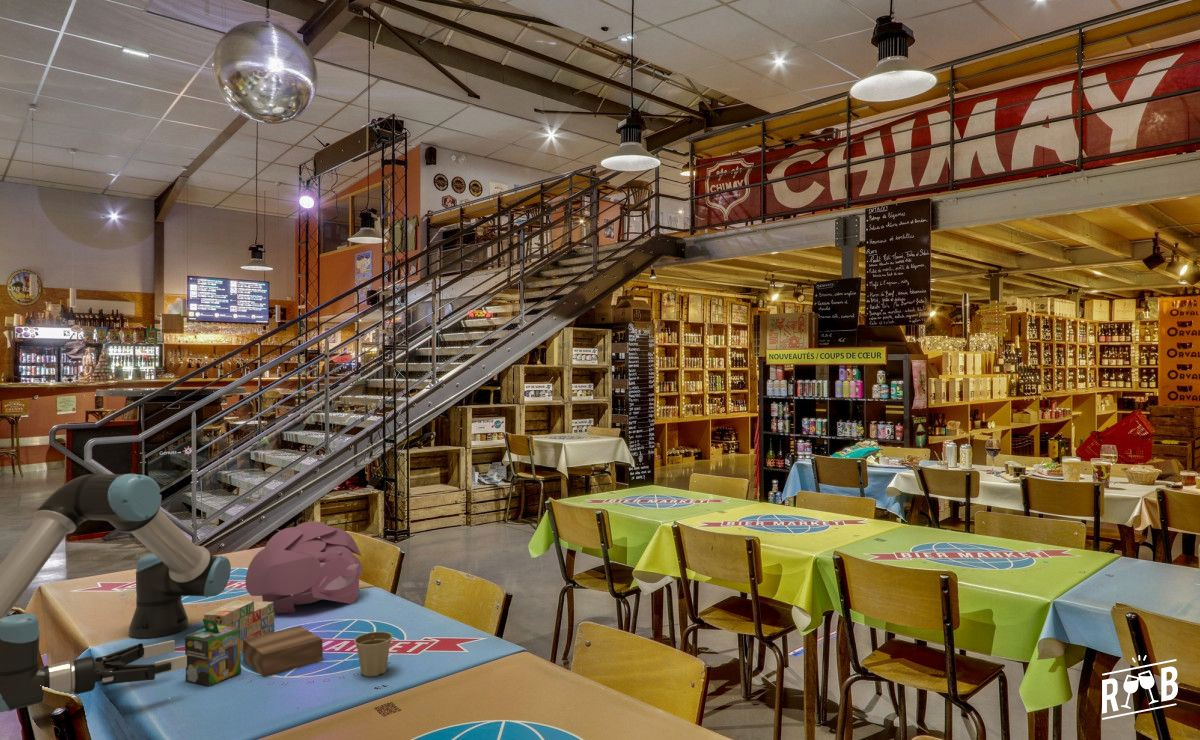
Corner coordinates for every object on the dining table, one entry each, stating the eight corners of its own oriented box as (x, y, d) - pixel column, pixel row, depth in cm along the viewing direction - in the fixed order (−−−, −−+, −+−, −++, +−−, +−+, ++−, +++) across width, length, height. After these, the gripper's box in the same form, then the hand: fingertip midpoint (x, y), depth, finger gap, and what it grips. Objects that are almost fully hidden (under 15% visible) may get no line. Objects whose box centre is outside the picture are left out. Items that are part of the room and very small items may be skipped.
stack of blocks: (255, 632, 212) (255, 590, 212) (274, 633, 210) (274, 591, 211) (203, 659, 191) (203, 613, 191) (224, 661, 189) (224, 614, 190)
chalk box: (241, 673, 181) (241, 614, 181) (208, 687, 172) (208, 626, 173) (217, 667, 185) (217, 610, 185) (183, 681, 176) (183, 621, 177)
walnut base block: (243, 662, 189) (243, 639, 189) (299, 647, 199) (299, 625, 200) (263, 678, 178) (263, 654, 178) (322, 661, 189) (322, 639, 189)
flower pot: (357, 682, 174) (357, 647, 174) (351, 669, 183) (351, 635, 183) (396, 675, 179) (396, 640, 179) (388, 662, 187) (388, 629, 187)
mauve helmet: (341, 602, 257) (339, 521, 263) (382, 600, 243) (379, 514, 249) (242, 618, 229) (243, 527, 235) (282, 617, 215) (281, 520, 221)
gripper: (66, 677, 169) (169, 654, 183) (78, 713, 150) (191, 684, 164) (67, 645, 169) (169, 625, 183) (78, 677, 150) (192, 651, 164)
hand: (180, 653), depth 174 cm, fingers open, 13 cm apart
